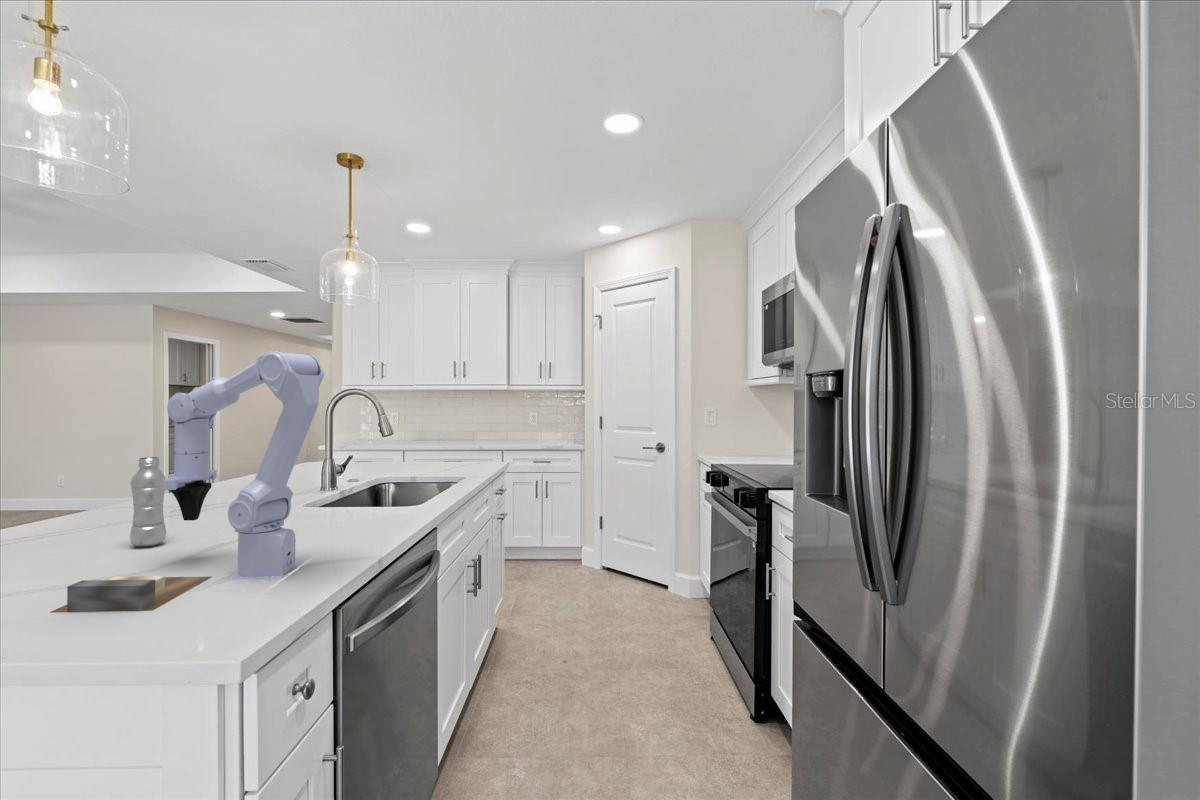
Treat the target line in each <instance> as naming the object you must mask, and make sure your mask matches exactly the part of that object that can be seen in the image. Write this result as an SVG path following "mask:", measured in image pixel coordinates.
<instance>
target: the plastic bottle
mask: <svg viewBox="0 0 1200 800" xmlns="http://www.w3.org/2000/svg"><path fill="white" fill-rule="evenodd" d="M159 466H160V457H159V456H149V457H148V456H144V457H139V459H138V465H137V467H138V468H139V469H138V470H137V471H136V473H135V474H134V475H133V476H132V478H131V480H130V489H131V494H132V495H131V496H132V503H133V515H132V526H131V529H130V533H129V539H130V543H131V544H132V545H133V546H134V547H145V546H147V547H151V546H152V547H153V546H156V545H159V544H162V543H163V542H164V540H165V539H166V537H167V528H166V524H165V517H164V516H165V515H164V498H165V492H166V490H163V480H165V479H167V478H166V476H165V474H164V473H163V472H162V471H161V469H160V468H159Z"/></svg>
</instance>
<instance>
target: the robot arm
mask: <svg viewBox="0 0 1200 800" xmlns="http://www.w3.org/2000/svg"><path fill="white" fill-rule="evenodd" d="M324 377H325V371H324V369H323V368H322V364H321V363H320V360H319V359H318V358H317V357H316V356H315V355H313V354H309V353H307V354H305V353H304V354H300V353H290V352H280V351H276V350H270V351H268V352H266V353H264V354H263V355H262V354H261V355H260V356H257V358H256V361H255V362H252V363H251V364H250V365H248V366H247V367H245V368H244V369H242V370H241V371H239V372H237V373H236V374H233V376H231V377H230V378H227V377H223V376H222V377H221V376H212V377H211V378H209V379H208V380H209V382H208V383H205V384H203V385H202V386H196V387H193V388H192V391H190V392H189V393H184V392H175V394H173V396H171V397H170V398H169V399H168V401H167V407H166V410H167V414H168V416H169V418H170V419H171V420H172V421H173V422H174V448H173V449H174V452H173V453H174V454H173V455H174V456H173V457H174V459H173V460H174V461H173V462H174V463H173V469H174V471H173V473H171V474H168V475H167V476H168V477H167V478H166V479H165V480H163V490H165V491H170V492H171V493H172V495H173V496H174V497H175V499H176V502H177V503H178V506H179V509H180V512H181V515H182V516H181V517H182V518H183V521H197V520H199V517H200V514H201V511H202V509H203V508H202V507H203V503H204V501H205V499H206V498H207V494H208V493H209V492H210V490H211V488H212V482H207V481H208V480H216V479H217V469H209V468H210V466H209V464H210V430H211V429H212V428H213V420H214V418H215V417H216V415H217V413H218V412H220V411H221V410H223V409H226V408H227V407H230V406H231V405H234V404H236V403H237V402H238V400H239V399H240V396H241V395H240V394H242V393H244V392H246V391H249V390H251V389H253V388H256V387H258V386H259V385H260V386H261V385H262V384H265V385H266V386H267V387H268V388H269V389H270V391H271V392H272V393H273V395H275V398H276V399H278V400H279V401H281V403H282V405H283V407H282V410H281V413H280V415H279V417H278V420H277V423H276V425H275V426H274V430H273V432H272V435H271V438H270V440H269V441H268V445H267V448H266V450H265V452H264V455H263V458H262V460H261V463H260V464H259V467H258V470H257V473H256V475H255V478H254V479H253V480H252V481H251V482H249V483H248V484H247V485H245V486H244V487H243V488H241V489H240V491H239V493H238V495H237V497H236V498H235V499H233V501H231V503H230V504H229V507H228V509H227V519H228V522H229V524H230V525H231V527H232V528H233V529H234V532H235V533H237V535H238V536H237V537H238V538H237V541H238V542H237V571H236V572H234V573H233V574H231V575H229V576H228V577H227V578H228V579H271V578H272V579H273V578H274V579H275V578H277V579H278V578H281V577H283V576H284V575H286V574H287V573H288V572H289V571H291V570H293V569H295V568H296V567H297V566H298V565H297V564H296V542H297V541H296V534H295V531H294V530H293V529H291V528H284V527H282V526H284V525H285V520H287V518H288V517H289V515H290V513H291V508H292V507H291V505H292V504H291V501H292V497H293V495H294V492H293V490H291V488H290V487H289V486H288V485H287V484H288V481H289V480H290V477H291V474H292V471H293V470H294V467H295V464H296V461H297V460H298V457H299V454H300V452H301V449H302V447H303V444H304V442H305V440H306V437H307V435H308V433H309V430H310V428H311V425H312V423H313V420H314V417H315V415H316V414H317V413H316V412H317V411H318V407H319V401H320V400H319V397H320V386H321V384H322V381H323V379H324ZM205 481H206V482H205Z"/></svg>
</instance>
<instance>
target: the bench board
mask: <svg viewBox="0 0 1200 800" xmlns="http://www.w3.org/2000/svg"><path fill="white" fill-rule="evenodd" d="M211 578H212V576H165V594H163V595H161V596H159V597H157V598H155V580H108V579H103V580H102V579H97V580H96V579H95V580H94V579H91V580H90V579H87V580H80V581H78V582H75V583H73V584H71V585H68V586H67V591H66V592H67V594H66V595H67V596H66V598H67V599H66V603H67V604H64V605H63V606H60V607H58V608H56V609H54V610H51V611H50V612H49V613H50V614H51V613H93V612H94V613H96V612H98V613H99V612H104V613H105V612H108V613H109V612H149V611H151V612H153V611H154V610H156V609H158V608H160V607H162V606H163V605H166V604H167V603H169V602H170V601H172V600H174V599H176V598H178V597H179V596H181V595H183V594H184V593H186V592H188V591H190V590H192V589H194V588H195V587H198V586H199V585H201V584H203V583H204V582H206V581H208V580H210V579H211Z"/></svg>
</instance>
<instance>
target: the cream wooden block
mask: <svg viewBox="0 0 1200 800" xmlns="http://www.w3.org/2000/svg"><path fill="white" fill-rule="evenodd" d="M165 577H166V576H165V575H154V576H153V575H151V576H150V575H148V576H147V575H142V576H141V575H139V576H133V575H132V576H131V575H130V576H113V577H111V578H109V579H107V580H155V598H157V597H159V596H161V595H163V594H165Z"/></svg>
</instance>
